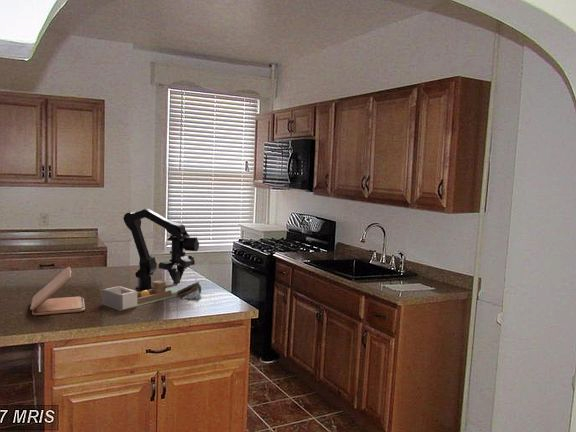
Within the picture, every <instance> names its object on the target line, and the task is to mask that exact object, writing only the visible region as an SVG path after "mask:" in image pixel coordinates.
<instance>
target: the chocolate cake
mask: <svg viewBox="0 0 576 432" xmlns="http://www.w3.org/2000/svg"><path fill="white" fill-rule="evenodd" d="M201 293H202V286H201V284H200V281H196V282H194V283H192V284H190V285H188V286H186V287H184V288H181V289H180V290H179V291H177V295H178V296H177V297H179V298H180V300H186V299H187V300H191V299H196V300H199V299H201V297H202V296H201Z"/></svg>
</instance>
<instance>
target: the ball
mask: <svg viewBox="0 0 576 432" xmlns="http://www.w3.org/2000/svg"><path fill="white" fill-rule="evenodd" d="M147 290H148V289H146V290H142V292H141V291H140V292H141V297H144V296H148V295H150V294H149V291H147Z"/></svg>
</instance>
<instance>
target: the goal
mask: <svg viewBox="0 0 576 432" xmlns="http://www.w3.org/2000/svg"><path fill="white" fill-rule="evenodd" d="M122 291H126V292H125V293H122ZM137 292H138V290H135V289H132V288H131V289H130V288H127V287H124V286H121V285H117V286H113V287H108V288H104V289H103V288H102V292H101V294H102V297H101V299H102V305H103V304H105V305H104V306H106V305H108V306H110V307H109V308H111V307H113V308H112V309H114V308H116V309H115V310H117V309H119V310H118V311H120V310H121V311H123V310H122V309H125V310H127V309H126V308H129V309H131V308H130V307H133V308H135V307H134V306H137ZM108 306H107V307H108ZM137 307H138V306H137Z"/></svg>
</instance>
